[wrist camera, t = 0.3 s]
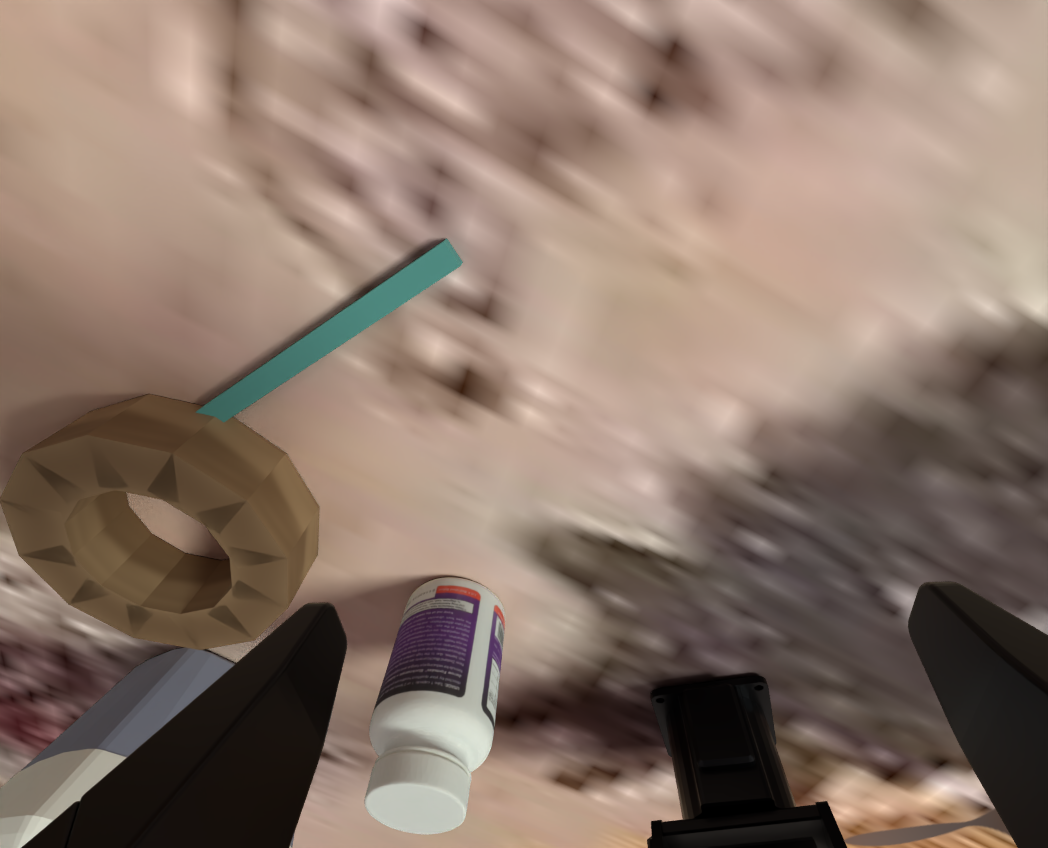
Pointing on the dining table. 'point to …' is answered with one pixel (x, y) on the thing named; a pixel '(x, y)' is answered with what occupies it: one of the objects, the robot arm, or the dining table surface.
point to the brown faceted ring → (139, 556)
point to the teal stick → (336, 330)
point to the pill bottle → (436, 706)
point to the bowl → (103, 739)
